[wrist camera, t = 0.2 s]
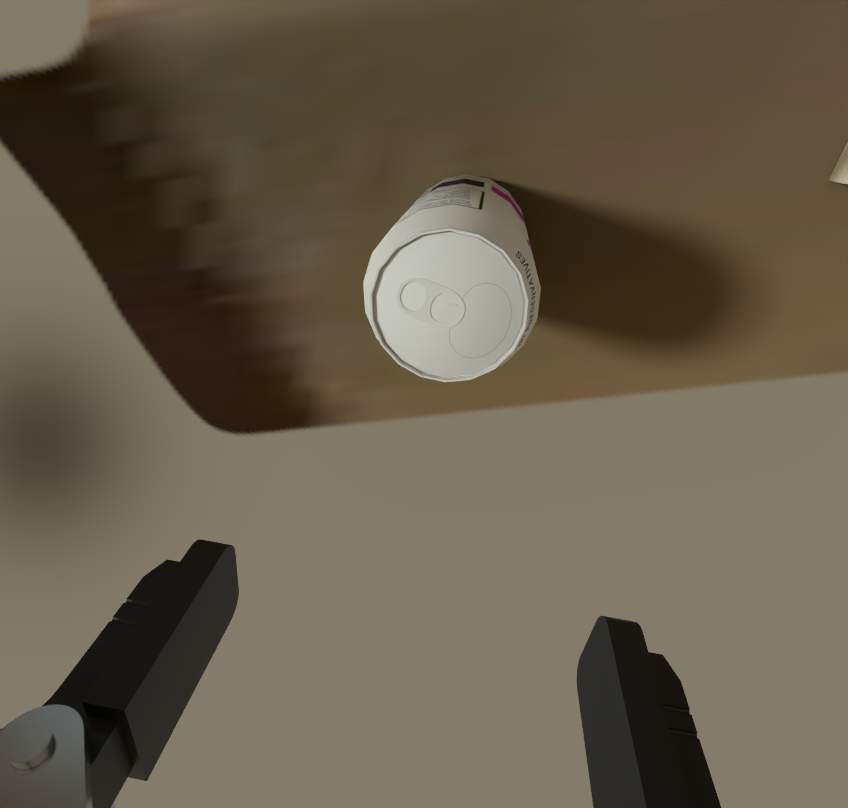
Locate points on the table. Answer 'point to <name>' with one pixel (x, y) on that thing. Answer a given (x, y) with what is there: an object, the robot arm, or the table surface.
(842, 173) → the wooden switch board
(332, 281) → the table surface
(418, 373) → the supplement can
